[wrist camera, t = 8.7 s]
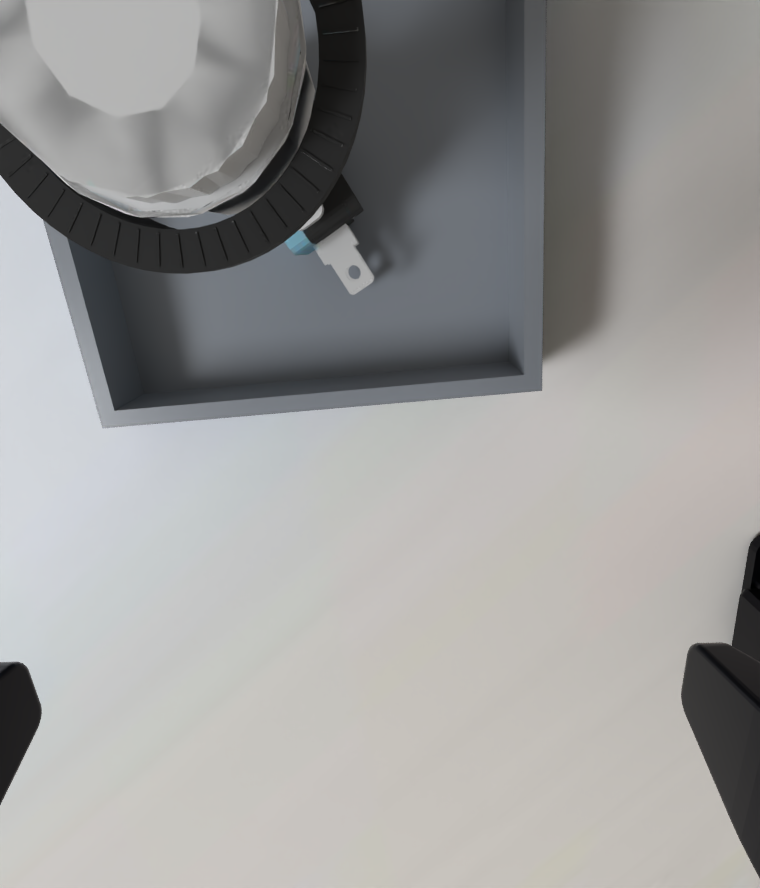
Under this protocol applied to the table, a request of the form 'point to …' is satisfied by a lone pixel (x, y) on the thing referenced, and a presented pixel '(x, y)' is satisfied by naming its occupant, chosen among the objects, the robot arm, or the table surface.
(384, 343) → the tray
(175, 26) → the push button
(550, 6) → the table surface
